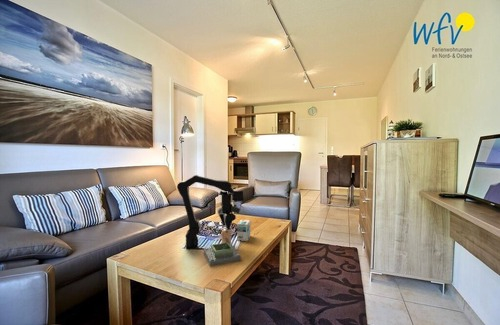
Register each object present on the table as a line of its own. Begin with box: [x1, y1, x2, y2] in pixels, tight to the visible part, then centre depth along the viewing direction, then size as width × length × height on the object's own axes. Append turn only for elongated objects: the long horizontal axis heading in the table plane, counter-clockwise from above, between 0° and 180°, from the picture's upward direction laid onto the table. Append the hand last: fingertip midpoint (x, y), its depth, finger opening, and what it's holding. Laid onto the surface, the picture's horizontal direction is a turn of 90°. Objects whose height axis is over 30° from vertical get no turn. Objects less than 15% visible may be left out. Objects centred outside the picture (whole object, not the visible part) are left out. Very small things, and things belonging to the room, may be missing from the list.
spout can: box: [221, 227, 235, 245], centre depth 142 cm, size 7×6×10 cm
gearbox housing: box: [203, 242, 242, 267], centre depth 126 cm, size 16×16×6 cm
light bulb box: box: [236, 219, 251, 242], centre depth 154 cm, size 11×7×11 cm, turn 168°
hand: (226, 227), depth 142 cm, fingers open, 9 cm apart
